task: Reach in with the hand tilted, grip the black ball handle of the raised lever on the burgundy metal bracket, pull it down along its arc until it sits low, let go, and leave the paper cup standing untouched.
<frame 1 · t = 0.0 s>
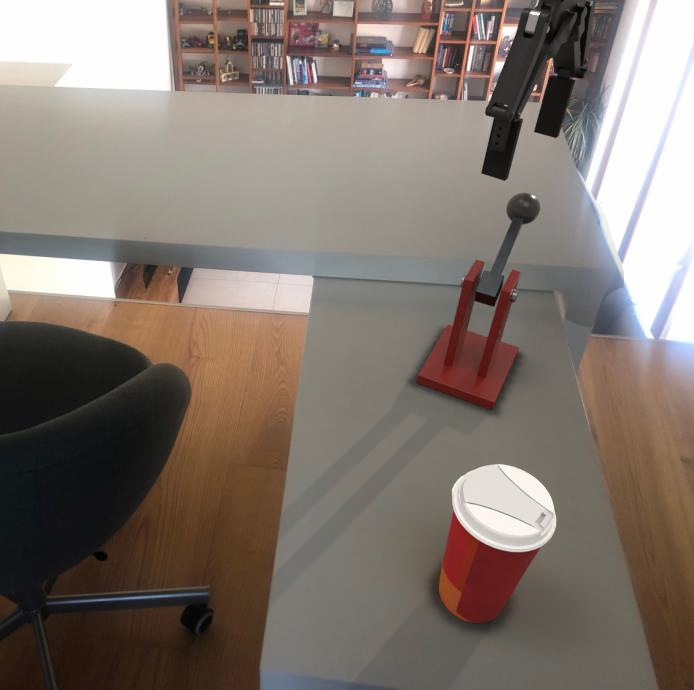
hand: (521, 154, 78), 22 cm above the table, tool pointing down, fingers open, 13 cm apart
bracket: (467, 368, 84), on the table
lever: (507, 246, 78), point 15 cm above the table, hinge at 28.0°
paper cup: (469, 594, 62), on the table
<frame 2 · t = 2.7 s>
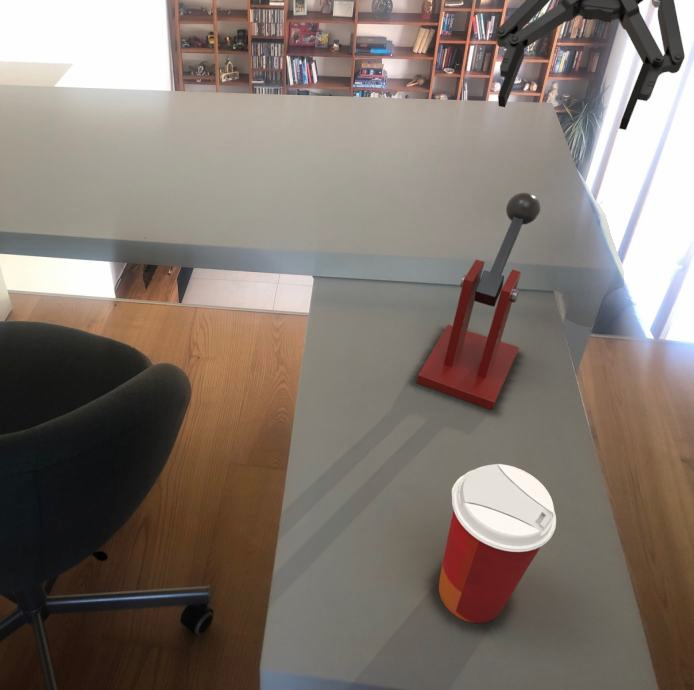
hand: (560, 113, 80), 25 cm above the table, tool tilted 45°, fingers open, 13 cm apart
nothing on the table moved.
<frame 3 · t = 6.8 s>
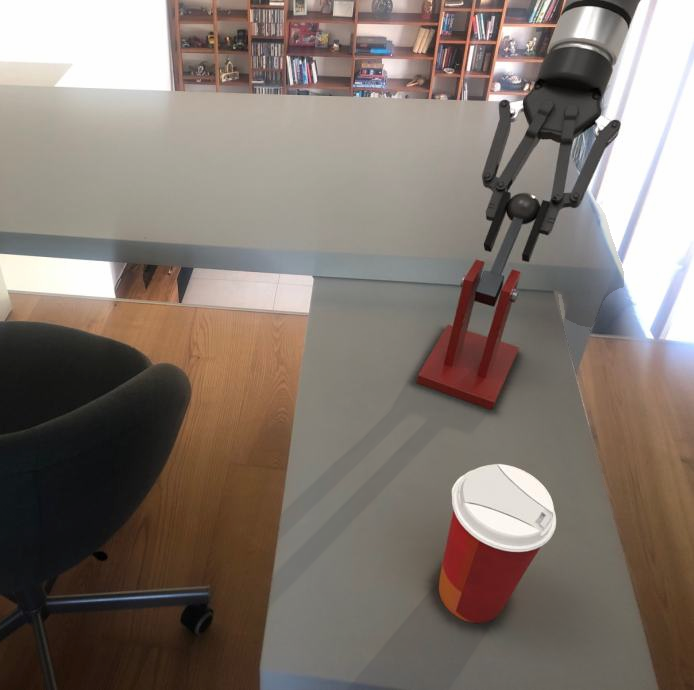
hand: (506, 252, 79), 13 cm above the table, tool tilted 45°, fingers closed on lever, 4 cm apart
lever: (507, 246, 78), point 15 cm above the table, hinge at 28.0°, touching gripper
everything else where it was.
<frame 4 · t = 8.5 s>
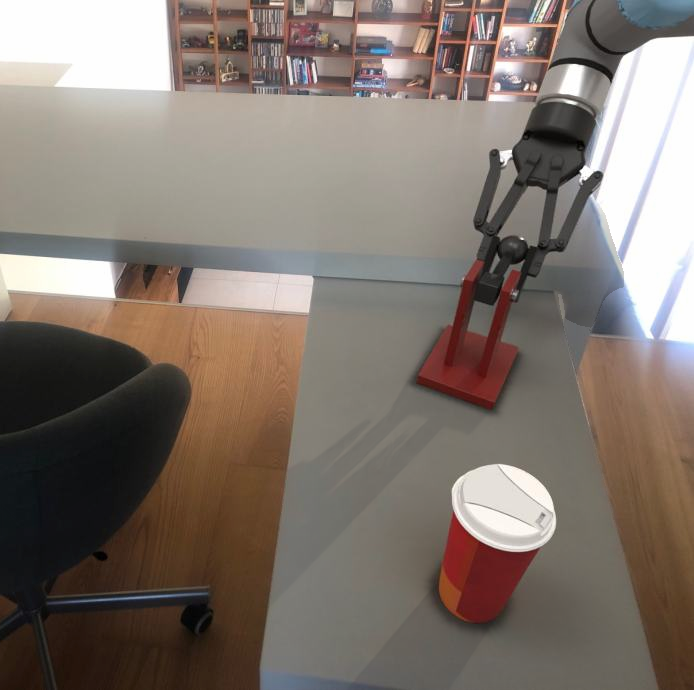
hand: (496, 293, 84), 7 cm above the table, tool tilted 45°, fingers closed on lever, 4 cm apart
lever: (501, 267, 80), point 11 cm above the table, hinge at -5.8°, touching gripper
everything else where it was.
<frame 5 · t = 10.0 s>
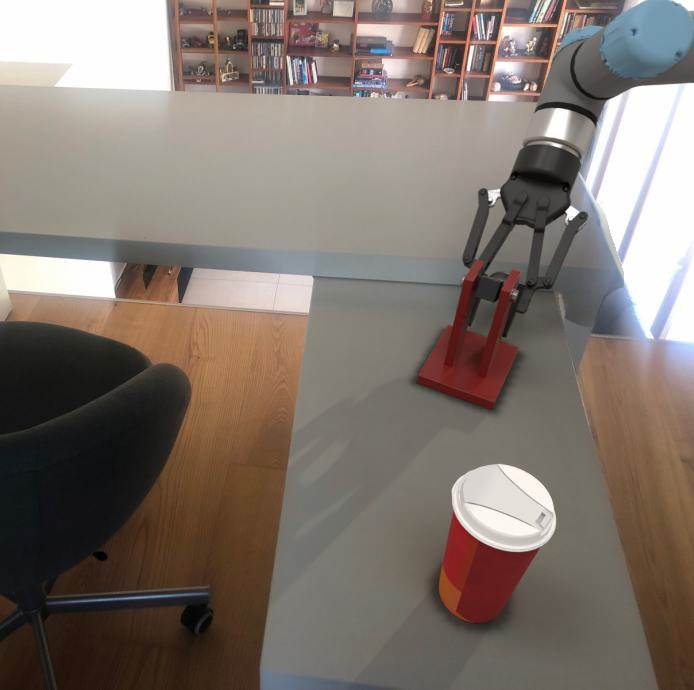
hand: (485, 329, 87), 2 cm above the table, tool tilted 45°, fingers open, 4 cm apart
lever: (495, 287, 81), point 9 cm above the table, hinge at -30.3°
everything else where it was.
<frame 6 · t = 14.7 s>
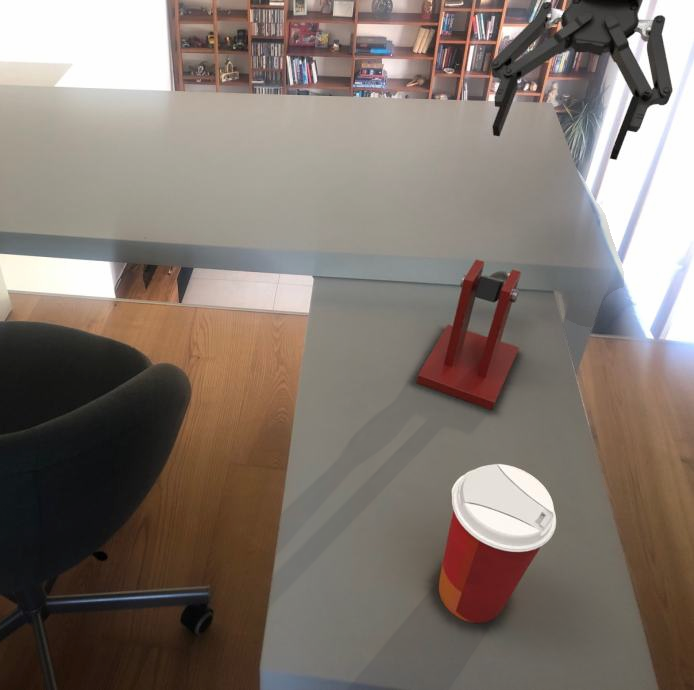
hand: (553, 143, 83), 21 cm above the table, tool tilted 45°, fingers open, 13 cm apart
nothing on the table moved.
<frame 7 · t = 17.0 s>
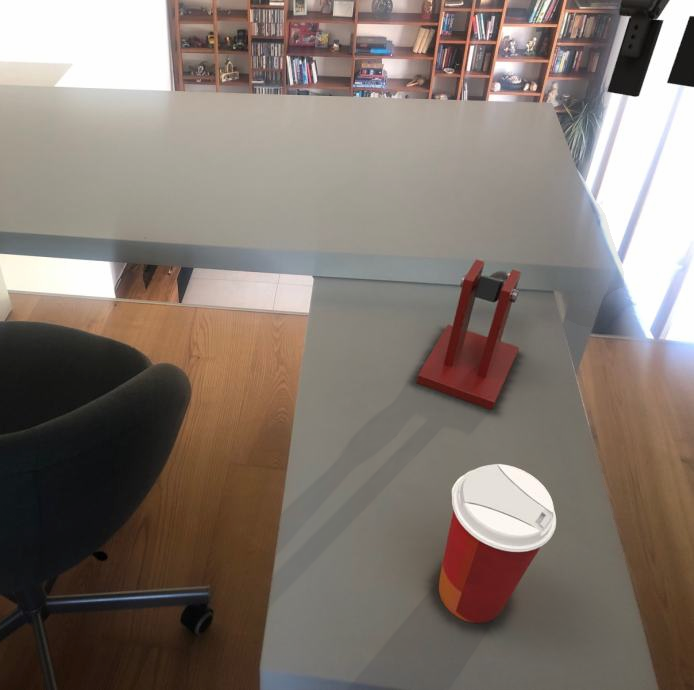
hand: (653, 89, 70), 31 cm above the table, tool pointing down, fingers open, 13 cm apart
nothing on the table moved.
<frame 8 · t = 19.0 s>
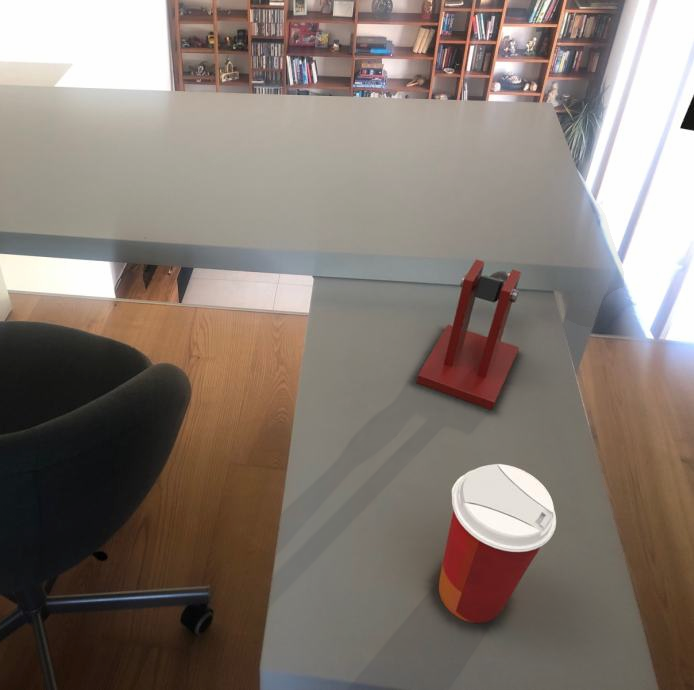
nothing on the table moved.
at the end: lever at -30° (first picture: +28°); paper cup moved 0.2 cm from its start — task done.
